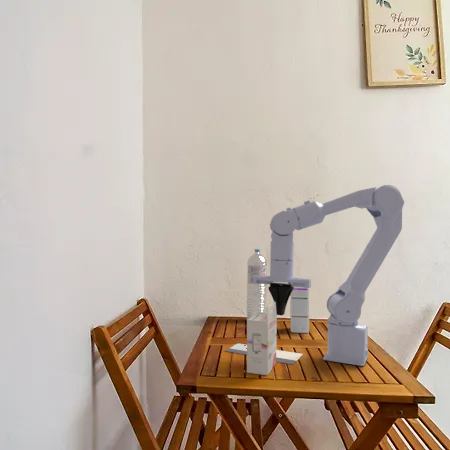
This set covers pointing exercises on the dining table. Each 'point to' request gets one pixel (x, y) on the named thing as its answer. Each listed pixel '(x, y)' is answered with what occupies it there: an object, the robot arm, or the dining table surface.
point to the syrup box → (299, 310)
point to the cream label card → (287, 357)
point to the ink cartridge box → (262, 341)
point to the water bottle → (256, 285)
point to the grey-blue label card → (238, 349)
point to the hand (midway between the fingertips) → (280, 314)
